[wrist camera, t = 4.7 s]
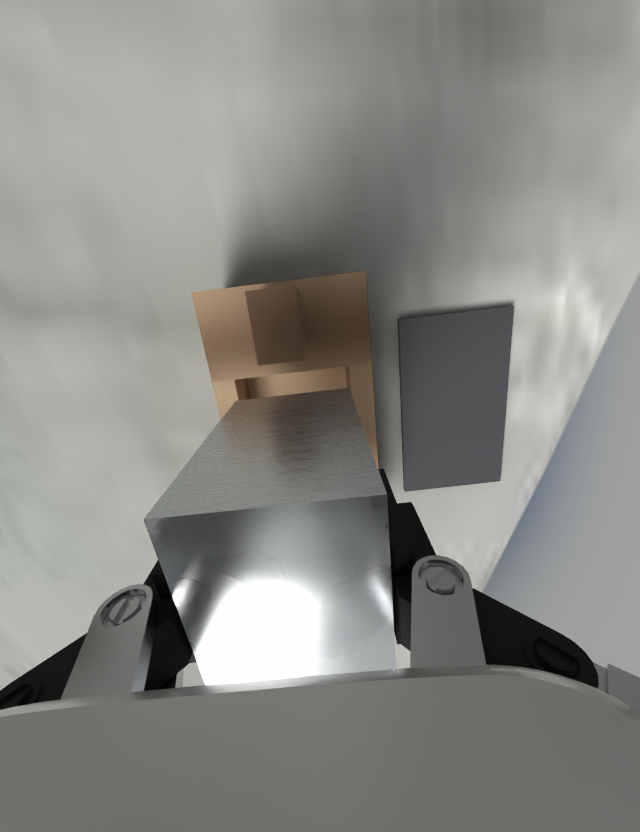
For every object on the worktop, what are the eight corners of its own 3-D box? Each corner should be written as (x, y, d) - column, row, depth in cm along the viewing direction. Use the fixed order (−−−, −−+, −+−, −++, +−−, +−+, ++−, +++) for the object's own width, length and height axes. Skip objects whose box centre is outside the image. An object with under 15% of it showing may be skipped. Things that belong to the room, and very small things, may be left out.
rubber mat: (397, 319, 23) (399, 319, 22) (510, 305, 23) (513, 305, 22) (403, 488, 27) (405, 491, 27) (497, 478, 27) (500, 481, 27)
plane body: (222, 295, 22) (154, 288, 13) (352, 279, 22) (381, 260, 12) (267, 514, 28) (243, 620, 19) (369, 502, 28) (398, 604, 18)
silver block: (235, 400, 14) (143, 519, 7) (349, 387, 14) (386, 494, 6) (263, 529, 17) (220, 723, 9) (360, 519, 16) (398, 708, 9)
